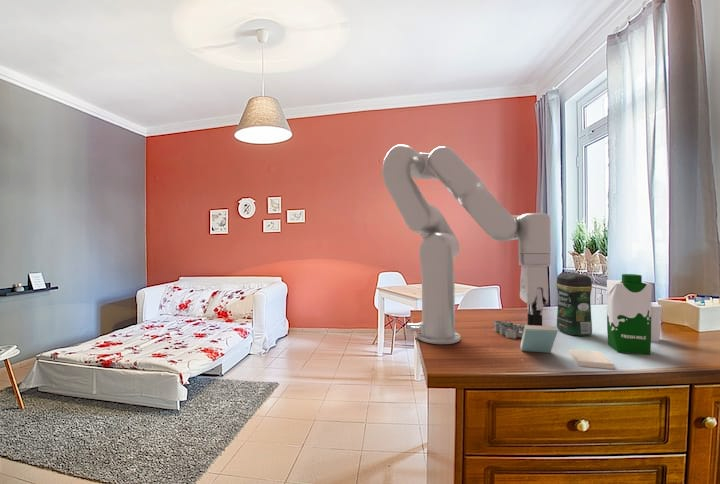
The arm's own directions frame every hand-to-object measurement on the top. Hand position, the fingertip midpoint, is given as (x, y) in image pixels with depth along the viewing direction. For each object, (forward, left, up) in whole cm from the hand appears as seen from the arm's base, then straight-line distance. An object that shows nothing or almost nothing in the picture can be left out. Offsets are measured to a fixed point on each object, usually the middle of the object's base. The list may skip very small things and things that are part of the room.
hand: (534, 329), depth 91 cm
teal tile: (0, 0, -5) cm, 5 cm away
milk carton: (+24, +6, -6) cm, 25 cm away
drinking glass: (+34, +18, -6) cm, 39 cm away
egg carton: (-4, +16, -6) cm, 17 cm away
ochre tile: (+11, -1, -5) cm, 12 cm away
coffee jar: (+16, +21, -6) cm, 27 cm away
